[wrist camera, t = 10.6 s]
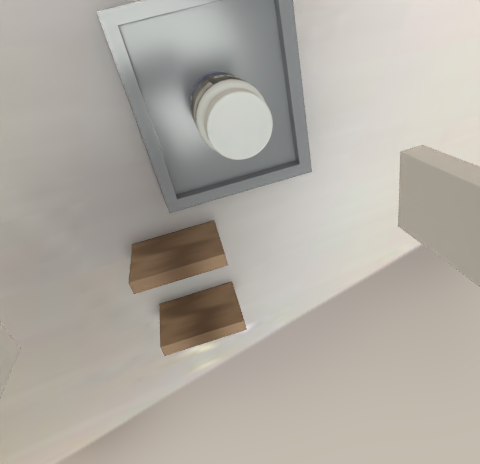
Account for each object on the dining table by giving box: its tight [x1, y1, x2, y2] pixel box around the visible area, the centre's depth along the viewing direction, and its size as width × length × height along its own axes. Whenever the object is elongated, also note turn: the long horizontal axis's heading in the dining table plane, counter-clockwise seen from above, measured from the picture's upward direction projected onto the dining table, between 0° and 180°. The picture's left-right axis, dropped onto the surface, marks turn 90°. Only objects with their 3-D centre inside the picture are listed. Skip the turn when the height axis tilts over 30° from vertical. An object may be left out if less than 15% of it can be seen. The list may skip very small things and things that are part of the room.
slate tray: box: [96, 0, 312, 213], centre depth 28 cm, size 13×15×2 cm
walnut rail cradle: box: [129, 221, 247, 356], centre depth 33 cm, size 8×9×6 cm
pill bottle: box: [189, 72, 273, 160], centre depth 24 cm, size 5×5×8 cm
